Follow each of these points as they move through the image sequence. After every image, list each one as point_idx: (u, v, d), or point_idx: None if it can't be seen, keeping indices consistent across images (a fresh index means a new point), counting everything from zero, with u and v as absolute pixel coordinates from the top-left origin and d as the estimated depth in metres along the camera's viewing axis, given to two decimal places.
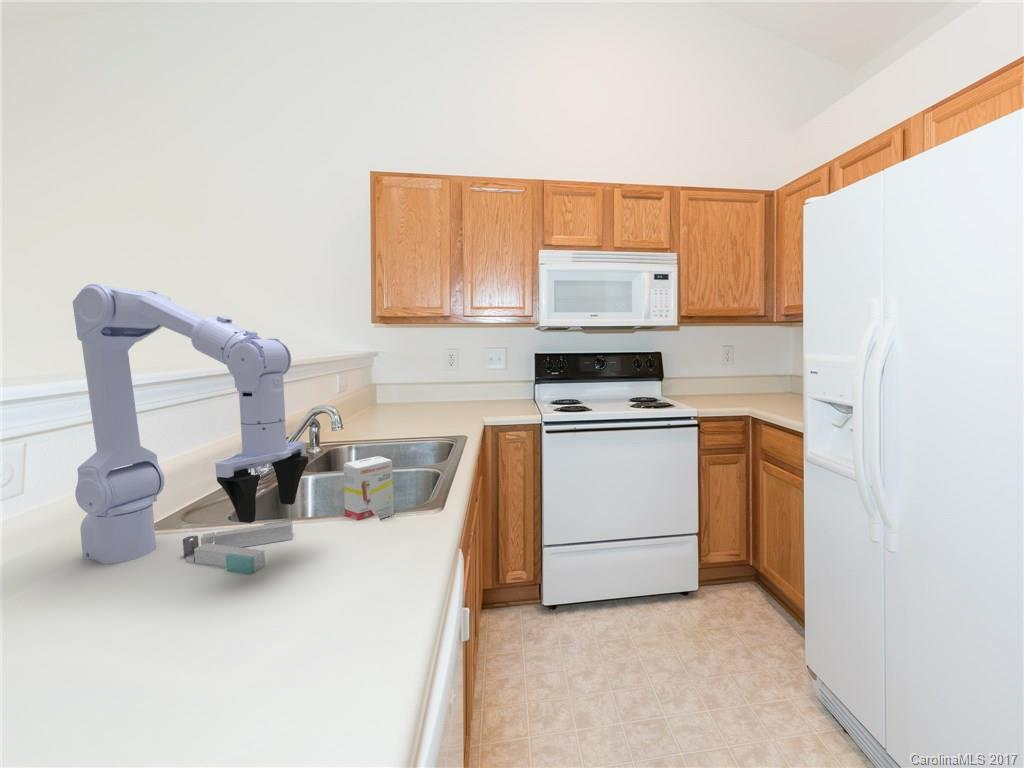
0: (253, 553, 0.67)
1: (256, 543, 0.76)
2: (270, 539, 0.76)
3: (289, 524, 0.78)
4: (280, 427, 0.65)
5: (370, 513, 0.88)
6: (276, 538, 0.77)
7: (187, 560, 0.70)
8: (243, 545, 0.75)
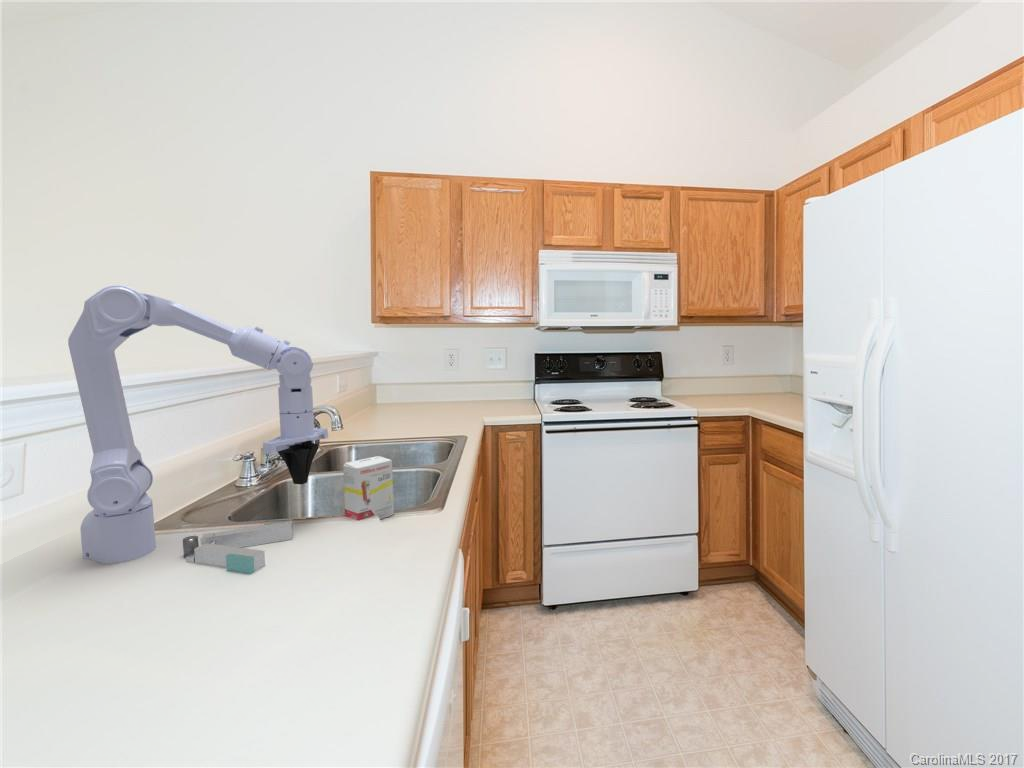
0: (253, 553, 0.67)
1: (256, 543, 0.76)
2: (270, 539, 0.76)
3: (289, 524, 0.78)
4: (310, 416, 0.83)
5: (370, 513, 0.88)
6: (276, 538, 0.77)
7: (187, 560, 0.70)
8: (243, 545, 0.75)
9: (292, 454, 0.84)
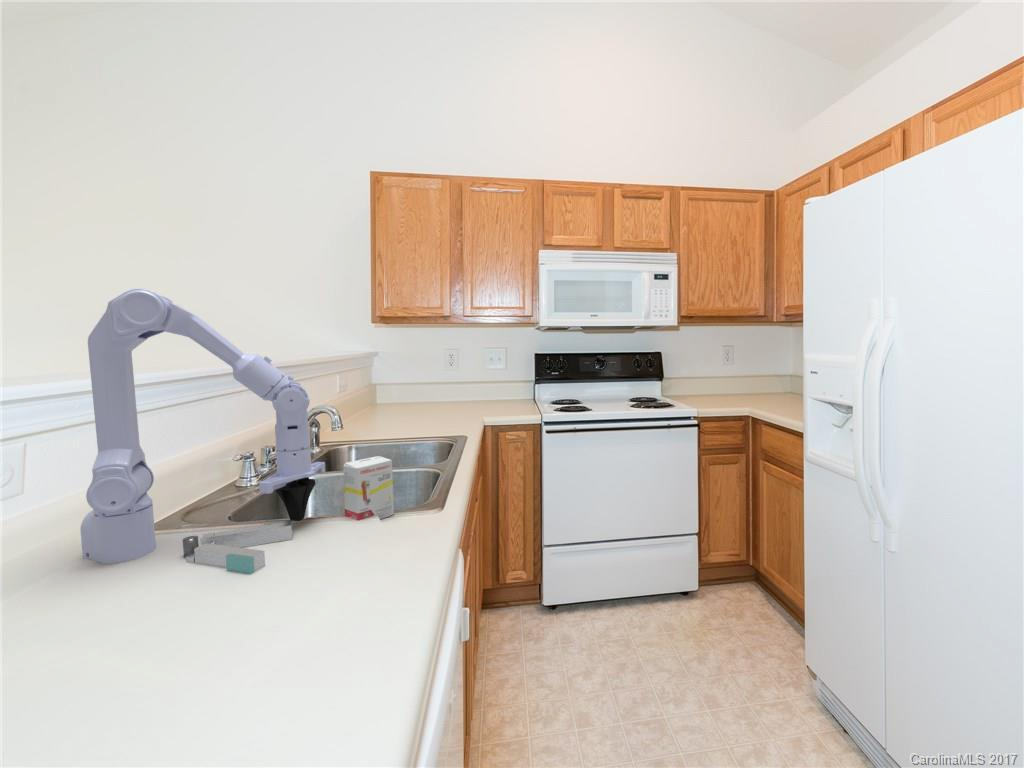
0: (253, 553, 0.67)
1: (256, 543, 0.76)
2: (270, 539, 0.76)
3: (289, 524, 0.78)
4: (307, 452, 0.83)
5: (370, 513, 0.88)
6: (276, 538, 0.77)
7: (187, 560, 0.70)
8: (243, 545, 0.75)
9: (289, 491, 0.83)
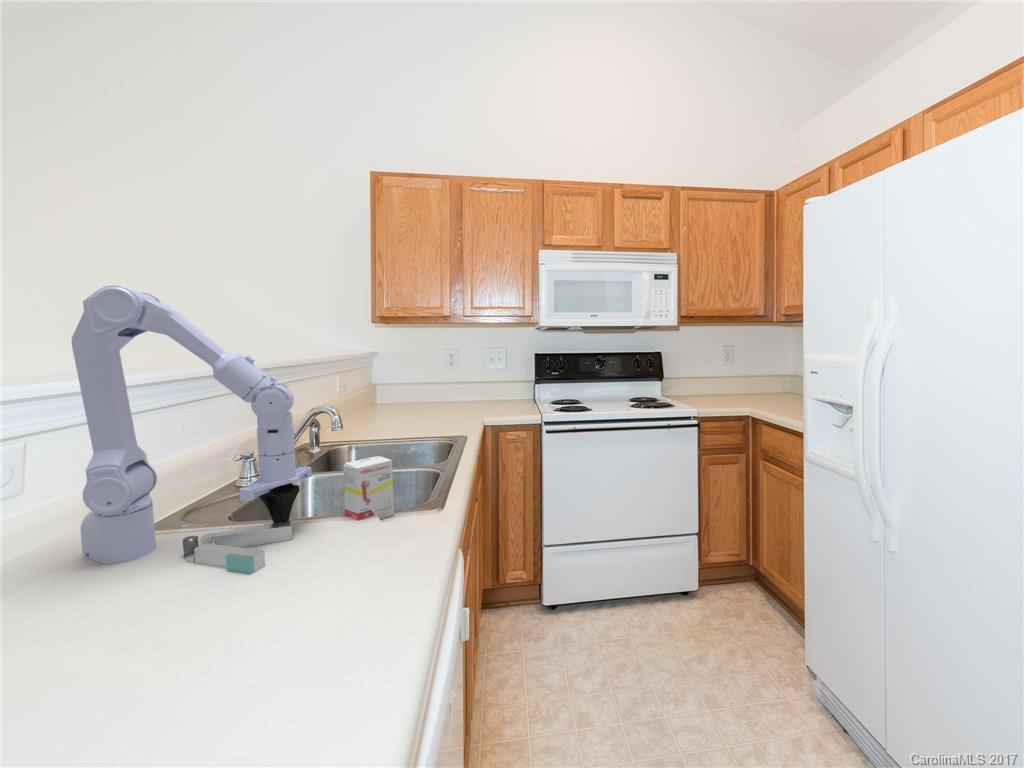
0: (253, 553, 0.67)
1: (256, 543, 0.75)
2: (270, 539, 0.76)
3: (289, 524, 0.78)
4: (291, 457, 0.79)
5: (370, 513, 0.88)
6: (276, 538, 0.76)
7: (187, 560, 0.70)
8: (243, 545, 0.75)
9: (273, 497, 0.80)
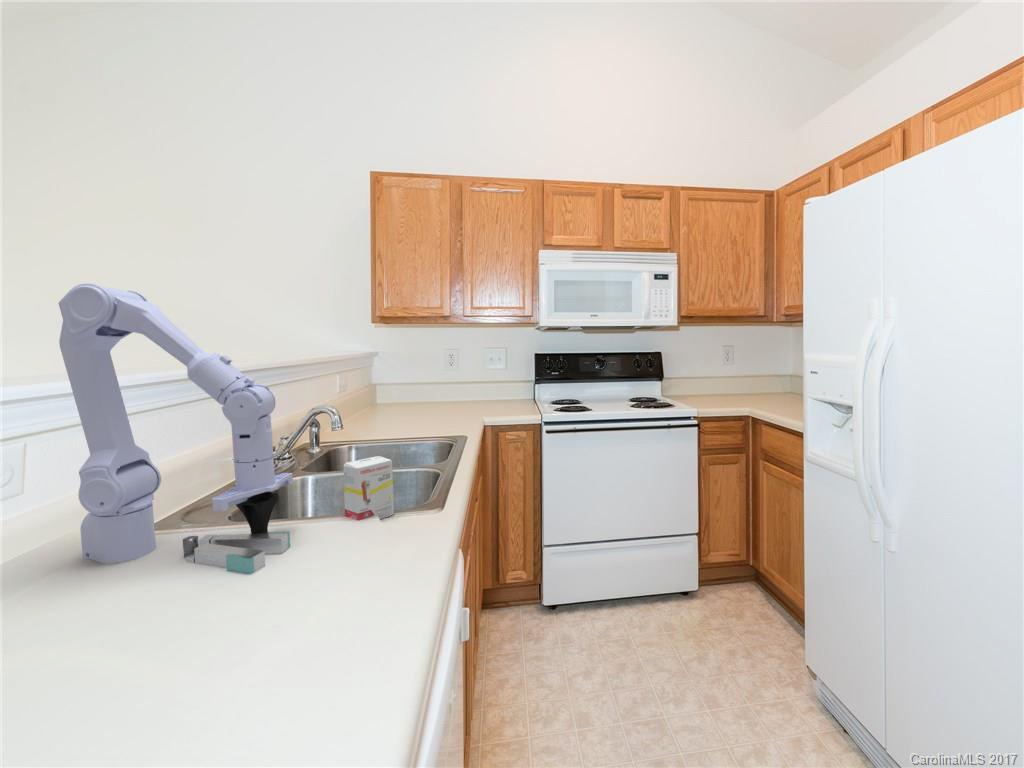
0: (253, 553, 0.67)
1: None
2: None
3: (281, 537, 0.73)
4: (269, 464, 0.74)
5: (370, 513, 0.88)
6: (267, 550, 0.72)
7: (187, 560, 0.70)
8: None
9: (252, 505, 0.75)
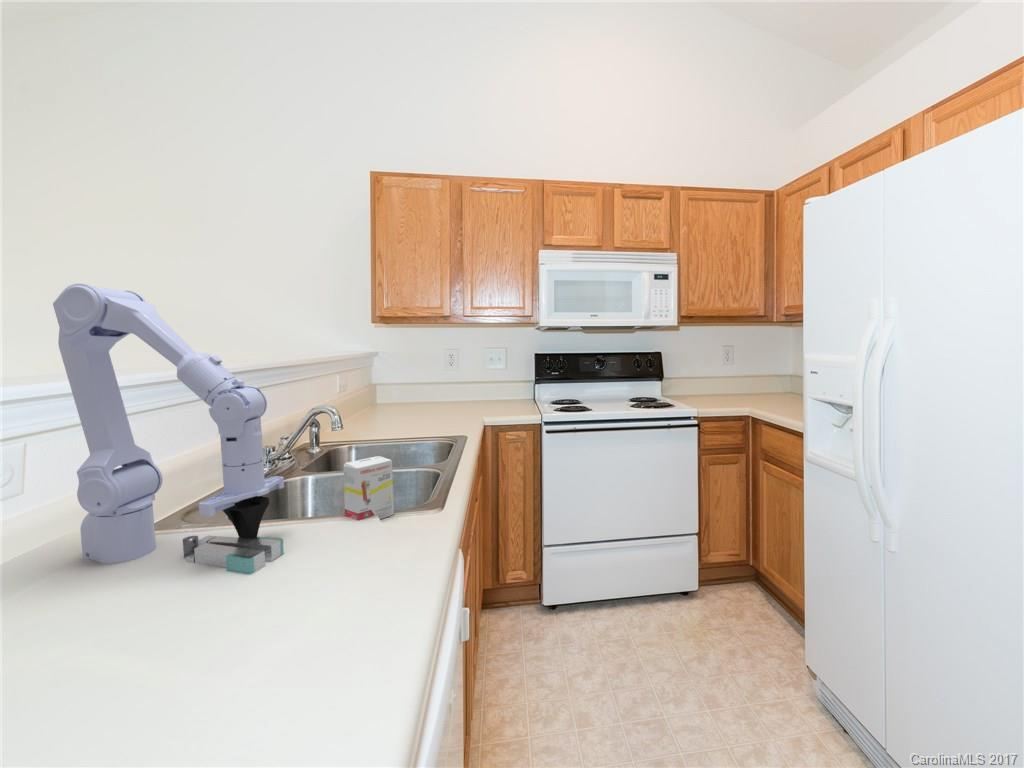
0: (253, 553, 0.67)
1: None
2: None
3: (272, 543, 0.70)
4: (258, 467, 0.72)
5: (370, 513, 0.88)
6: None
7: (187, 560, 0.70)
8: None
9: (239, 511, 0.73)
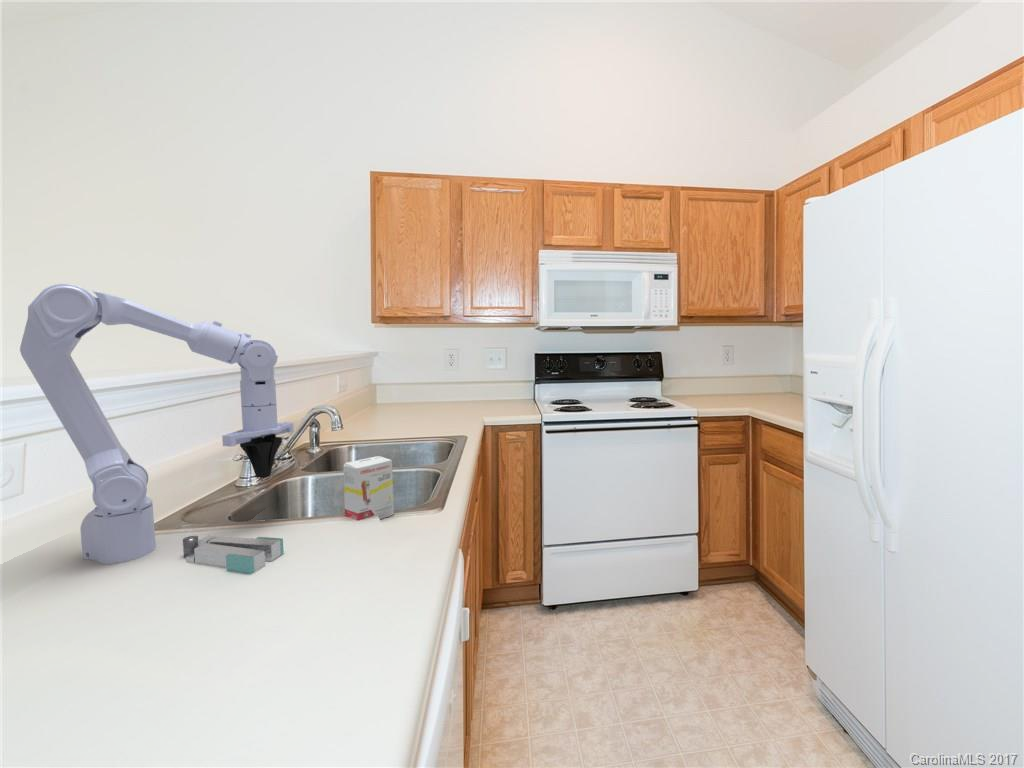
0: (253, 553, 0.67)
1: None
2: None
3: (272, 543, 0.70)
4: (272, 409, 0.83)
5: (370, 513, 0.88)
6: None
7: (187, 560, 0.70)
8: None
9: (254, 447, 0.84)
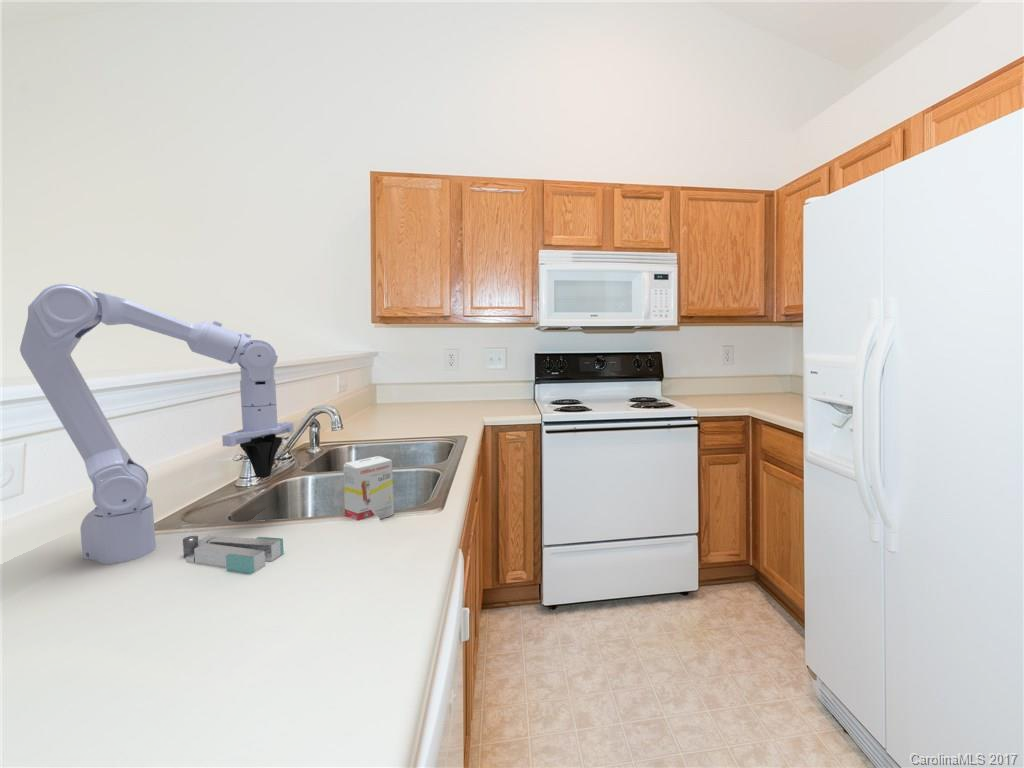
0: (253, 553, 0.67)
1: None
2: None
3: (272, 543, 0.70)
4: (272, 409, 0.83)
5: (370, 513, 0.88)
6: None
7: (187, 560, 0.70)
8: None
9: (254, 447, 0.84)
